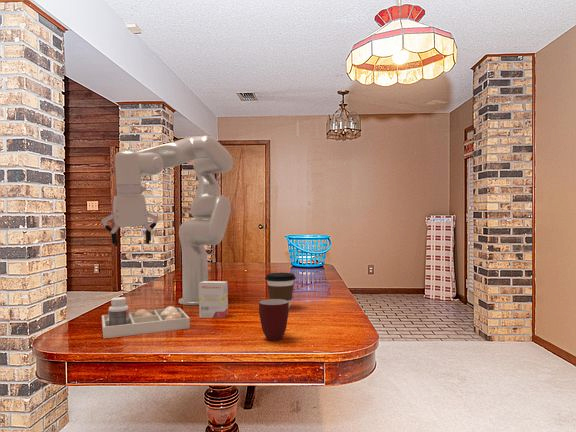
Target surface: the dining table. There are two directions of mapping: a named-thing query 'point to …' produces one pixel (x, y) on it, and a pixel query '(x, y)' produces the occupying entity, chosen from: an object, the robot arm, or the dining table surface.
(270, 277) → the coffee cup
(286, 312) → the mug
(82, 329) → the dining table surface
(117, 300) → the pill bottle
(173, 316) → the brown egg
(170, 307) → the cream egg
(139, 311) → the brown egg
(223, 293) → the ink box
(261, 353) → the dining table surface
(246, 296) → the dining table surface
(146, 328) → the grey compartment tray
